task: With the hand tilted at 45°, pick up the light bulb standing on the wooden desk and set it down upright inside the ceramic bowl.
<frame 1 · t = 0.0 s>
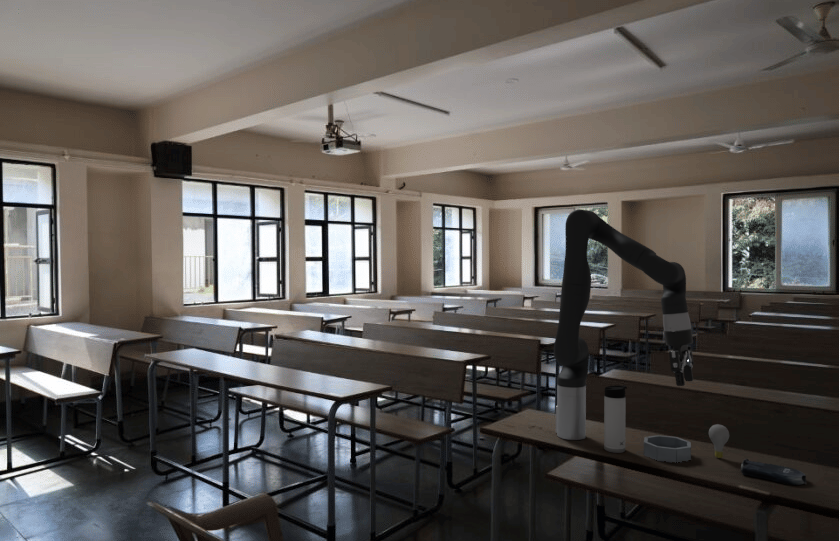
hand: (685, 383, 179), 22 cm above the table, tool pointing down, fingers open, 8 cm apart
travel mug: (615, 450, 188), on the table
bowl: (667, 455, 182), on the table
light bulb: (718, 458, 180), on the table
electronic device: (773, 479, 164), on the table
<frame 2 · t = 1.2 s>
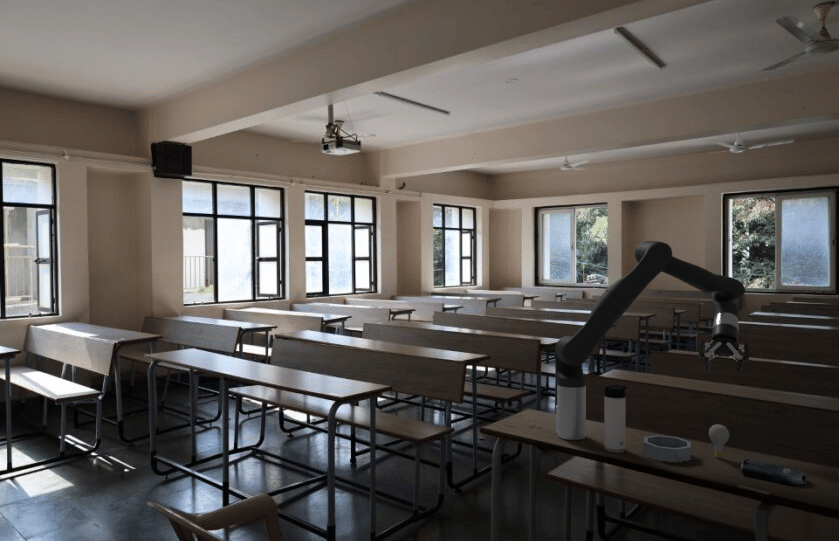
hand: (722, 370, 189), 24 cm above the table, tool tilted 45°, fingers open, 8 cm apart
nothing on the table moved.
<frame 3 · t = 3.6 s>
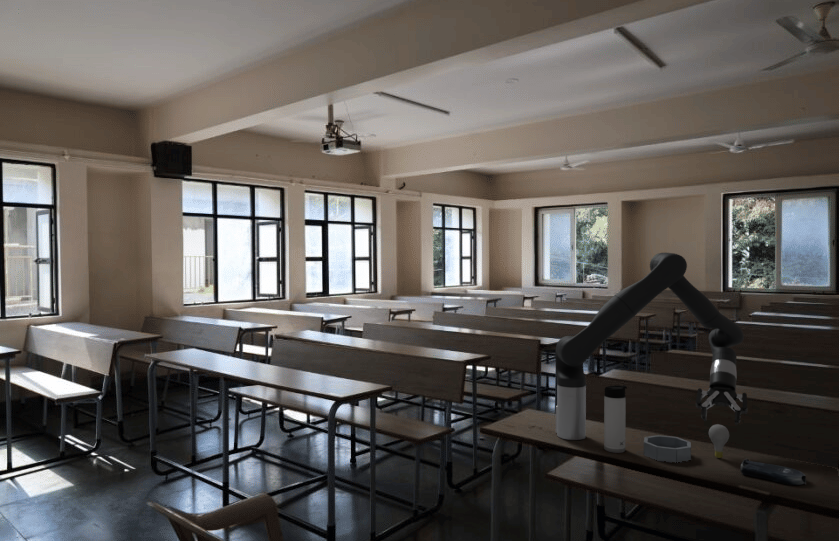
hand: (720, 421, 184), 10 cm above the table, tool tilted 45°, fingers open, 8 cm apart
nothing on the table moved.
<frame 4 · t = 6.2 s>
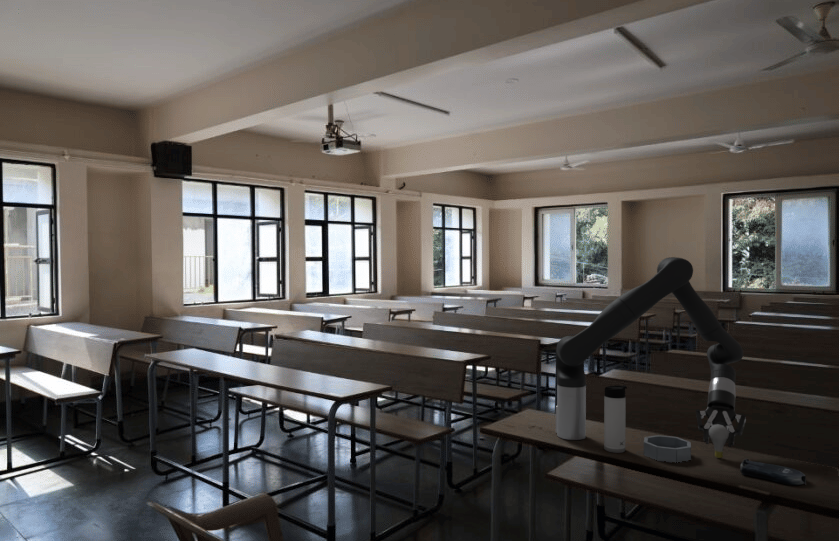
hand: (718, 444, 178), 5 cm above the table, tool tilted 45°, fingers closed on light bulb, 5 cm apart
light bulb: (718, 458, 180), on the table, touching gripper
everything else where it was.
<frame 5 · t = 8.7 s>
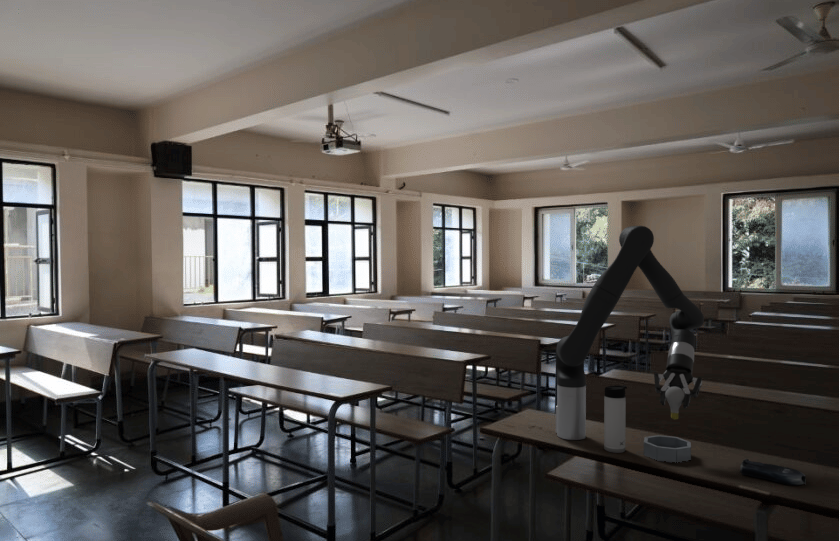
hand: (673, 405, 180), 16 cm above the table, tool tilted 45°, fingers closed on light bulb, 5 cm apart
light bulb: (674, 420, 182), point 11 cm above the table, touching gripper
everything else where it was.
when the fingers open (7 cm above the table, at t = 11.5 s): light bulb drops 1 cm, resting on bowl.
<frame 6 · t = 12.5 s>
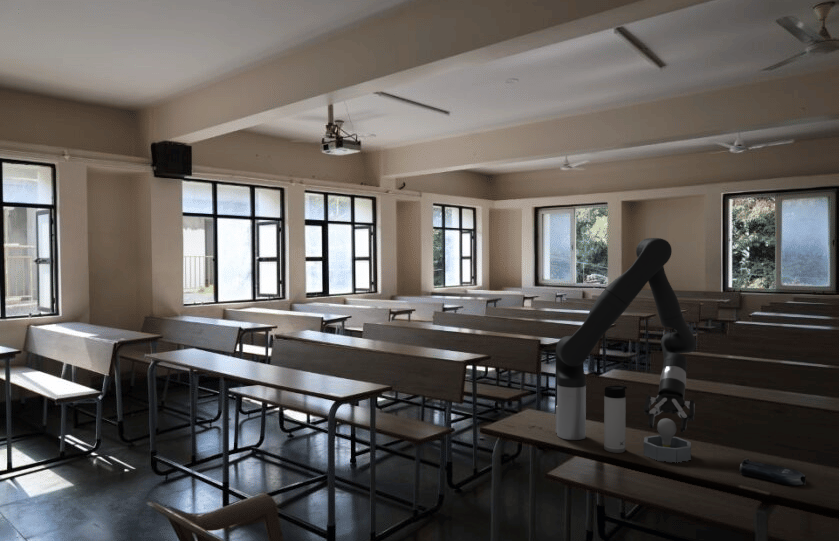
hand: (666, 428, 182), 8 cm above the table, tool tilted 45°, fingers open, 8 cm apart
light bulb: (666, 452, 183), point 1 cm above the table, touching bowl
everything else where it was.
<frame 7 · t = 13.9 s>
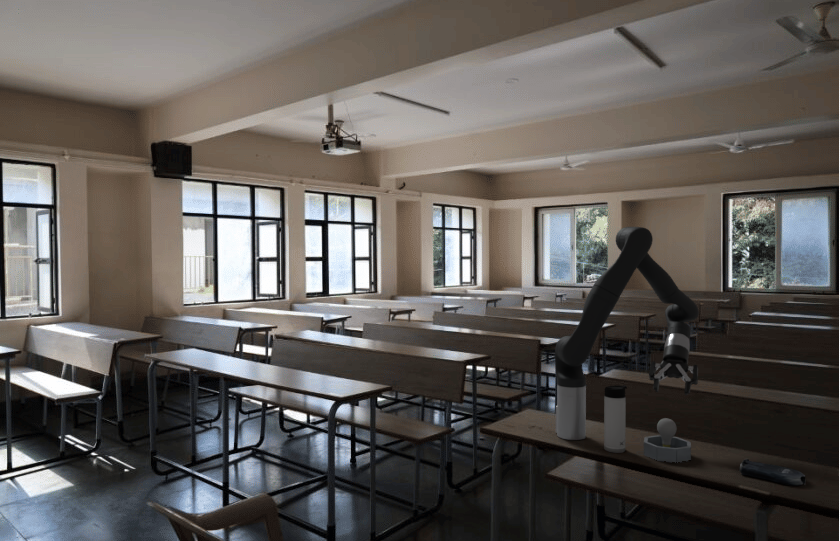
hand: (671, 392, 189), 18 cm above the table, tool tilted 45°, fingers open, 8 cm apart
nothing on the table moved.
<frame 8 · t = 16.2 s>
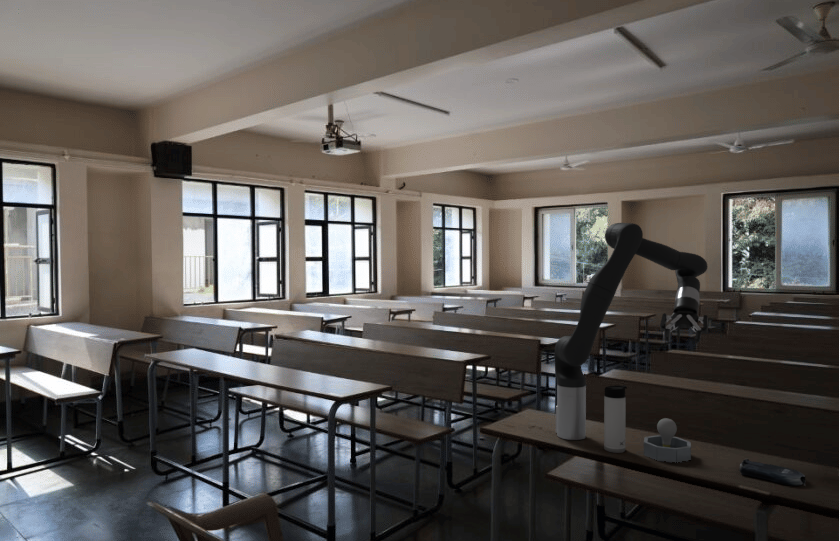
hand: (682, 341, 195), 33 cm above the table, tool tilted 45°, fingers open, 8 cm apart
nothing on the table moved.
at the end: light bulb inside the target area on the bowl (0.3 cm from its centre), point 0.8 cm above the bowl's base; light bulb tilted 1°; the gripper is holding nothing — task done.
